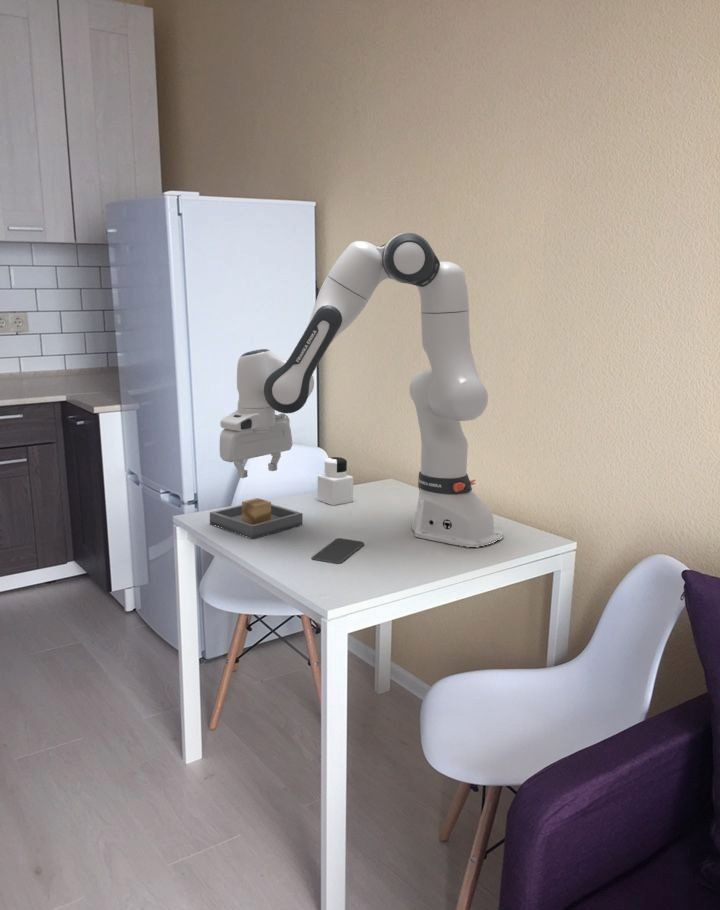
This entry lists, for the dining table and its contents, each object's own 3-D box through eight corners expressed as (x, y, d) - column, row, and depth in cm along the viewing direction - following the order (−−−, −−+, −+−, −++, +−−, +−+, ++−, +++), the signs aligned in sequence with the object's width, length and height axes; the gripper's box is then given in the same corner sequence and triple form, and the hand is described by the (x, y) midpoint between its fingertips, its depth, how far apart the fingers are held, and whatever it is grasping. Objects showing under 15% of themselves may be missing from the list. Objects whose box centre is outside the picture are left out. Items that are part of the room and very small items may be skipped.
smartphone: (309, 558, 175) (336, 537, 188) (309, 562, 175) (336, 541, 188) (340, 562, 172) (366, 541, 186) (340, 567, 172) (366, 545, 186)
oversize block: (270, 521, 198) (270, 502, 197) (255, 525, 195) (255, 505, 194) (257, 517, 202) (257, 498, 201) (242, 521, 198) (241, 501, 197)
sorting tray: (302, 525, 199) (302, 513, 198) (252, 539, 187) (252, 526, 187) (259, 511, 210) (259, 500, 209) (209, 524, 198) (209, 512, 197)
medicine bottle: (337, 496, 227) (338, 454, 224) (353, 501, 221) (354, 459, 219) (316, 500, 222) (317, 457, 220) (332, 505, 217) (333, 462, 214)
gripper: (280, 411, 203) (281, 464, 206) (214, 421, 188) (216, 479, 191) (297, 413, 198) (298, 468, 201) (231, 425, 184) (233, 483, 187)
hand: (258, 473), depth 196 cm, fingers open, 8 cm apart
